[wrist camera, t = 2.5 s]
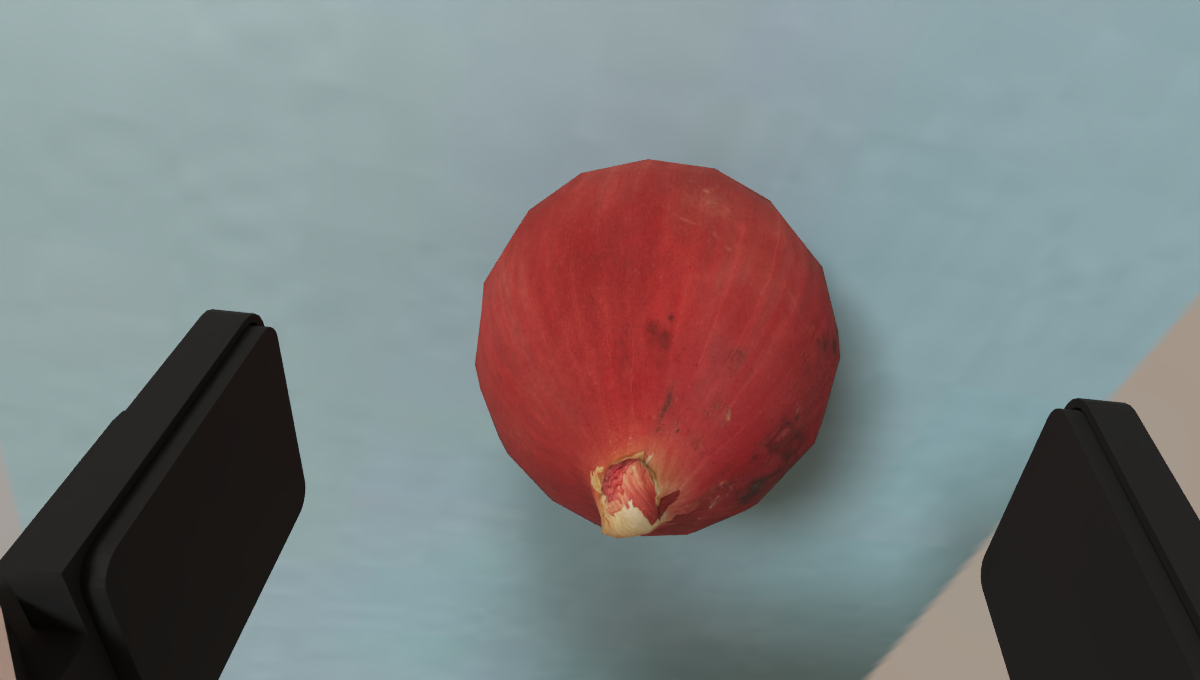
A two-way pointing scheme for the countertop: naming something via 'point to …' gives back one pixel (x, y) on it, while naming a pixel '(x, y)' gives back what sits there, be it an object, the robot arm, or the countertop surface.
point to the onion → (656, 347)
